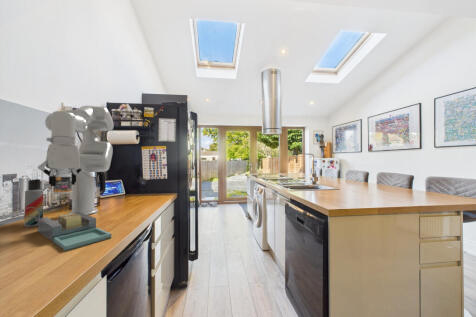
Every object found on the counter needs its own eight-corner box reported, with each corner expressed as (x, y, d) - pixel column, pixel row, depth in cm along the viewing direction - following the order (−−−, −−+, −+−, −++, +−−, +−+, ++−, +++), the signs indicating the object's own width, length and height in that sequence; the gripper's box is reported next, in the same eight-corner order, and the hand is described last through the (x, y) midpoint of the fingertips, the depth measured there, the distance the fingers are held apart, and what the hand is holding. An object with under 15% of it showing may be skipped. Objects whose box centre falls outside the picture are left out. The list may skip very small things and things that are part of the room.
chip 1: (58, 224, 78) (58, 215, 78) (72, 221, 82) (72, 212, 82) (61, 226, 76) (61, 216, 76) (76, 223, 80) (76, 214, 80)
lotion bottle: (30, 227, 83) (31, 179, 84) (20, 226, 85) (21, 179, 85) (46, 223, 89) (47, 178, 89) (36, 222, 90) (37, 178, 90)
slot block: (37, 231, 79) (38, 218, 79) (77, 222, 90) (78, 211, 90) (52, 241, 69) (52, 227, 69) (95, 230, 79) (96, 218, 79)
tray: (53, 242, 68) (53, 237, 68) (97, 231, 79) (97, 227, 79) (65, 251, 61) (65, 246, 61) (111, 237, 72) (111, 233, 72)
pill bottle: (52, 194, 79) (52, 169, 79) (54, 193, 83) (54, 169, 83) (71, 193, 82) (71, 169, 82) (72, 191, 87) (72, 169, 87)
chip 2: (62, 226, 76) (62, 217, 76) (77, 223, 79) (77, 214, 79) (66, 228, 73) (66, 218, 73) (81, 225, 77) (81, 216, 77)
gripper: (37, 139, 74) (36, 188, 73) (91, 142, 88) (90, 183, 88) (32, 140, 78) (31, 186, 78) (84, 143, 92) (84, 182, 92)
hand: (62, 184), depth 83 cm, fingers closed on pill bottle, 5 cm apart
